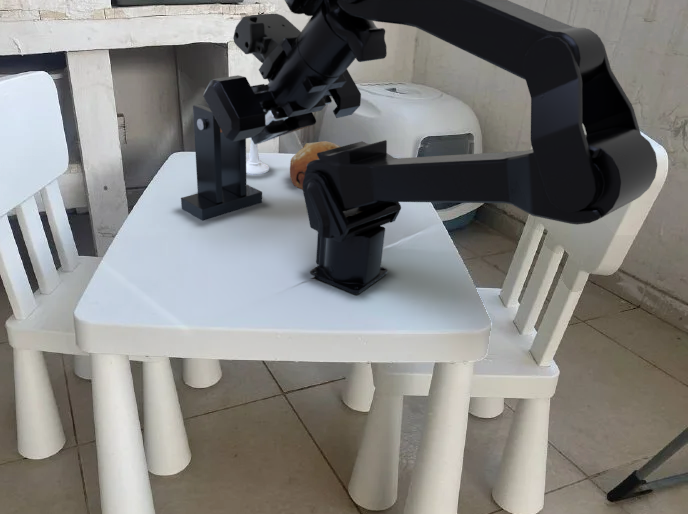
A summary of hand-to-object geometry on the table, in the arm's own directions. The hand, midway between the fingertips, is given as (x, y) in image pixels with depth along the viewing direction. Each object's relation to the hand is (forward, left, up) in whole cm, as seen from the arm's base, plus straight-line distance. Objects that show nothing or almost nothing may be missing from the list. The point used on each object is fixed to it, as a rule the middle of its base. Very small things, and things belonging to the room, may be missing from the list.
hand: (255, 140), depth 73 cm
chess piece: (+13, -15, -11) cm, 23 cm away
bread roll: (+2, -18, -11) cm, 22 cm away
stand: (+7, -1, -11) cm, 13 cm away
